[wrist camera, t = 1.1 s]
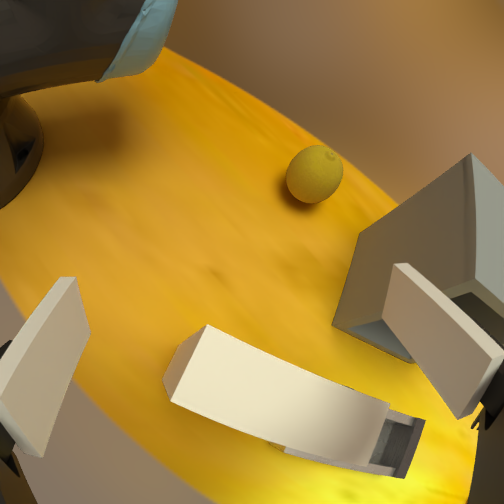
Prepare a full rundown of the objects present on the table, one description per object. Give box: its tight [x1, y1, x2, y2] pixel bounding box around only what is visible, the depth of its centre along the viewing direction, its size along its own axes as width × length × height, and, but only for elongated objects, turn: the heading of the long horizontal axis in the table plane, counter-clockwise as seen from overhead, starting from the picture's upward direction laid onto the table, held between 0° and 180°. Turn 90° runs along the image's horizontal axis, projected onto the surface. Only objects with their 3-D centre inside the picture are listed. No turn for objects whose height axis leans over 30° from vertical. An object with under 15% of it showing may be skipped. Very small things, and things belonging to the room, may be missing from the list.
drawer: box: [269, 409, 426, 479], centre depth 27 cm, size 15×7×4 cm, turn 67°
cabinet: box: [332, 153, 504, 363], centre depth 27 cm, size 13×12×18 cm
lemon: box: [286, 145, 343, 203], centre depth 33 cm, size 6×6×8 cm
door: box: [162, 324, 390, 467], centre depth 20 cm, size 10×4×16 cm, turn 67°
